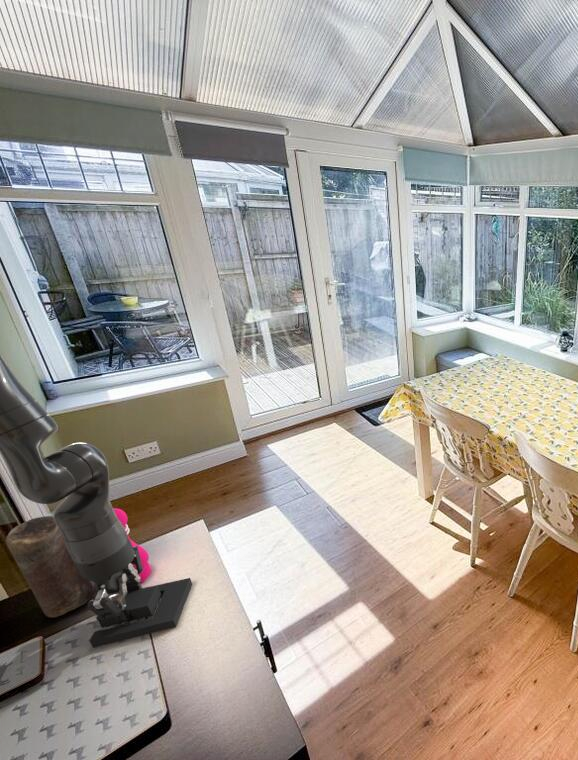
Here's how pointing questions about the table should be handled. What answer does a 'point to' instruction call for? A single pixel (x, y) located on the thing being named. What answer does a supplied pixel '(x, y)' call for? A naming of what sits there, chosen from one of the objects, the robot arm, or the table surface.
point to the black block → (137, 604)
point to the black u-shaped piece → (162, 619)
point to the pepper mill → (142, 552)
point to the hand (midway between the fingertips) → (131, 609)
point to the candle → (48, 566)
